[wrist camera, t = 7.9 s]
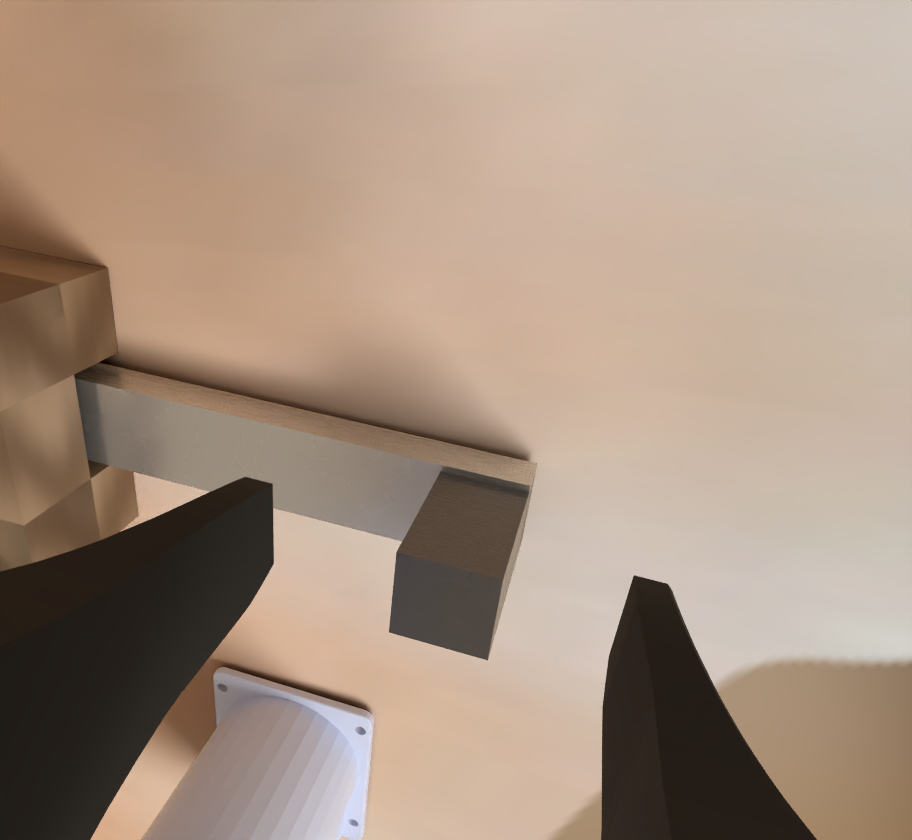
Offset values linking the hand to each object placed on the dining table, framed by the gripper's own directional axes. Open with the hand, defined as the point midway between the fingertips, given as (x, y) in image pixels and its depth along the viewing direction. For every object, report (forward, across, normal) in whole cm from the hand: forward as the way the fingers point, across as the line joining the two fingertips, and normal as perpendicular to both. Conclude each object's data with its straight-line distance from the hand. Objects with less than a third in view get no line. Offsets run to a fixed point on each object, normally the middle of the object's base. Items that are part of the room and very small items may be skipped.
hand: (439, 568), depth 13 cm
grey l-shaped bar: (+10, +11, +5) cm, 16 cm away
